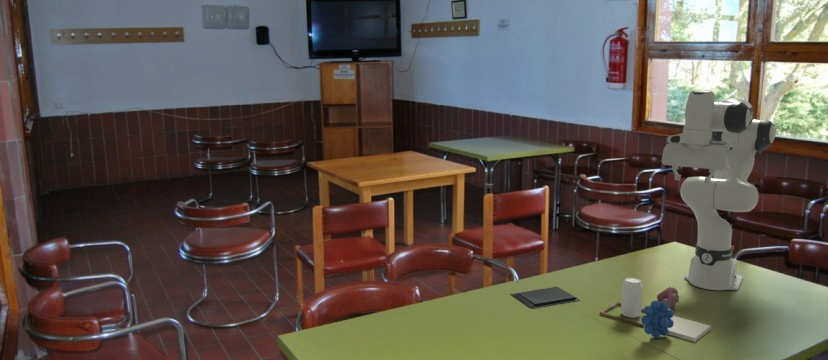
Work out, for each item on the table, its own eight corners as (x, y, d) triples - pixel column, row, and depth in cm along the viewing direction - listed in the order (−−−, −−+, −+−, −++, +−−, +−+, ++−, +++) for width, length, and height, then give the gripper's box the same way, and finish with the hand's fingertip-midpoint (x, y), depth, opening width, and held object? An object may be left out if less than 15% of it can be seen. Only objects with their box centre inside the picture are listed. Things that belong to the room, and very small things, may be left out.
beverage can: (616, 313, 224) (618, 278, 222) (631, 310, 227) (634, 275, 224) (629, 320, 219) (631, 284, 216) (645, 317, 221) (647, 281, 219)
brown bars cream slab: (617, 303, 232) (617, 300, 232) (710, 329, 212) (710, 325, 212) (599, 314, 224) (599, 311, 223) (694, 342, 203) (695, 338, 203)
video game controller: (671, 315, 227) (683, 297, 225) (659, 308, 227) (670, 290, 226) (667, 304, 237) (678, 287, 235) (655, 297, 237) (666, 280, 235)
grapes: (650, 347, 200) (653, 307, 197) (635, 337, 206) (637, 299, 204) (682, 340, 204) (685, 302, 202) (666, 331, 210) (668, 294, 208)
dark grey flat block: (530, 305, 228) (508, 290, 242) (530, 311, 228) (508, 295, 242) (582, 297, 235) (558, 283, 249) (582, 303, 235) (558, 288, 249)
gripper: (733, 142, 222) (728, 184, 223) (668, 137, 234) (664, 178, 235) (728, 141, 217) (723, 185, 218) (662, 137, 229) (658, 178, 230)
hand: (692, 181), depth 227 cm, fingers open, 8 cm apart
